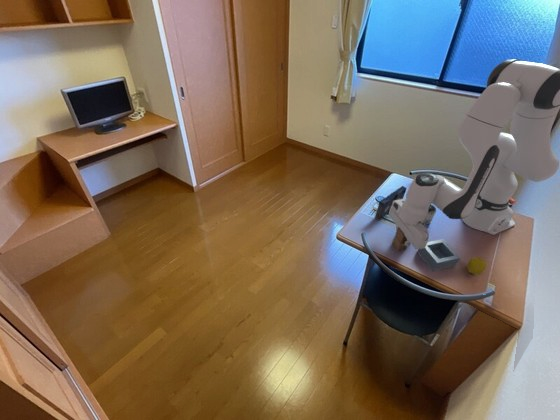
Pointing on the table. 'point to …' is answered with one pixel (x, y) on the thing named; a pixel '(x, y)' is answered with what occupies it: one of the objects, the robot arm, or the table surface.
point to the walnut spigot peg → (399, 240)
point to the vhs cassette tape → (389, 202)
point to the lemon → (476, 265)
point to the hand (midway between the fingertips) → (401, 239)
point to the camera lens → (429, 215)
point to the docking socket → (439, 255)
